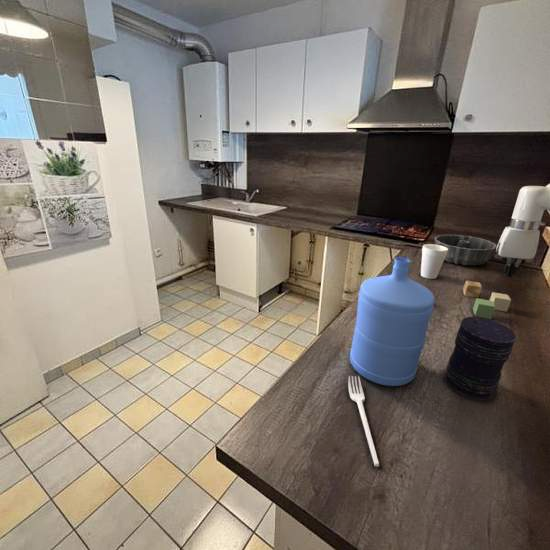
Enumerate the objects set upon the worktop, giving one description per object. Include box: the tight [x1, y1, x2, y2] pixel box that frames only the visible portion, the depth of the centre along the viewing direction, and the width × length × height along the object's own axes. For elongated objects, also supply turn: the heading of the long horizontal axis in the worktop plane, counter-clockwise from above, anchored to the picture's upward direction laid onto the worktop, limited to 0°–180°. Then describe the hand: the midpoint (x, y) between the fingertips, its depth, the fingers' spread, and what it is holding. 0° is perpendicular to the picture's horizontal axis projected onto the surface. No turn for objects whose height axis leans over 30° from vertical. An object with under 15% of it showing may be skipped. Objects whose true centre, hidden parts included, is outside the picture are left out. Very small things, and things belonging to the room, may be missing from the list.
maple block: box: [462, 280, 483, 299], centre depth 110 cm, size 4×4×4 cm
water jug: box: [349, 256, 435, 387], centre depth 67 cm, size 16×16×28 cm
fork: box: [347, 375, 380, 468], centre depth 58 cm, size 3×20×2 cm, turn 177°
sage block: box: [472, 298, 496, 320], centre depth 96 cm, size 4×4×4 cm
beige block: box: [489, 292, 512, 313], centre depth 100 cm, size 4×4×4 cm
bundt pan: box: [434, 234, 497, 267], centre depth 145 cm, size 26×26×10 cm
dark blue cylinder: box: [444, 316, 517, 401], centre depth 64 cm, size 10×10×15 cm
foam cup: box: [420, 243, 448, 280], centre depth 124 cm, size 10×9×13 cm
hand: (507, 275), depth 104 cm, fingers closed
